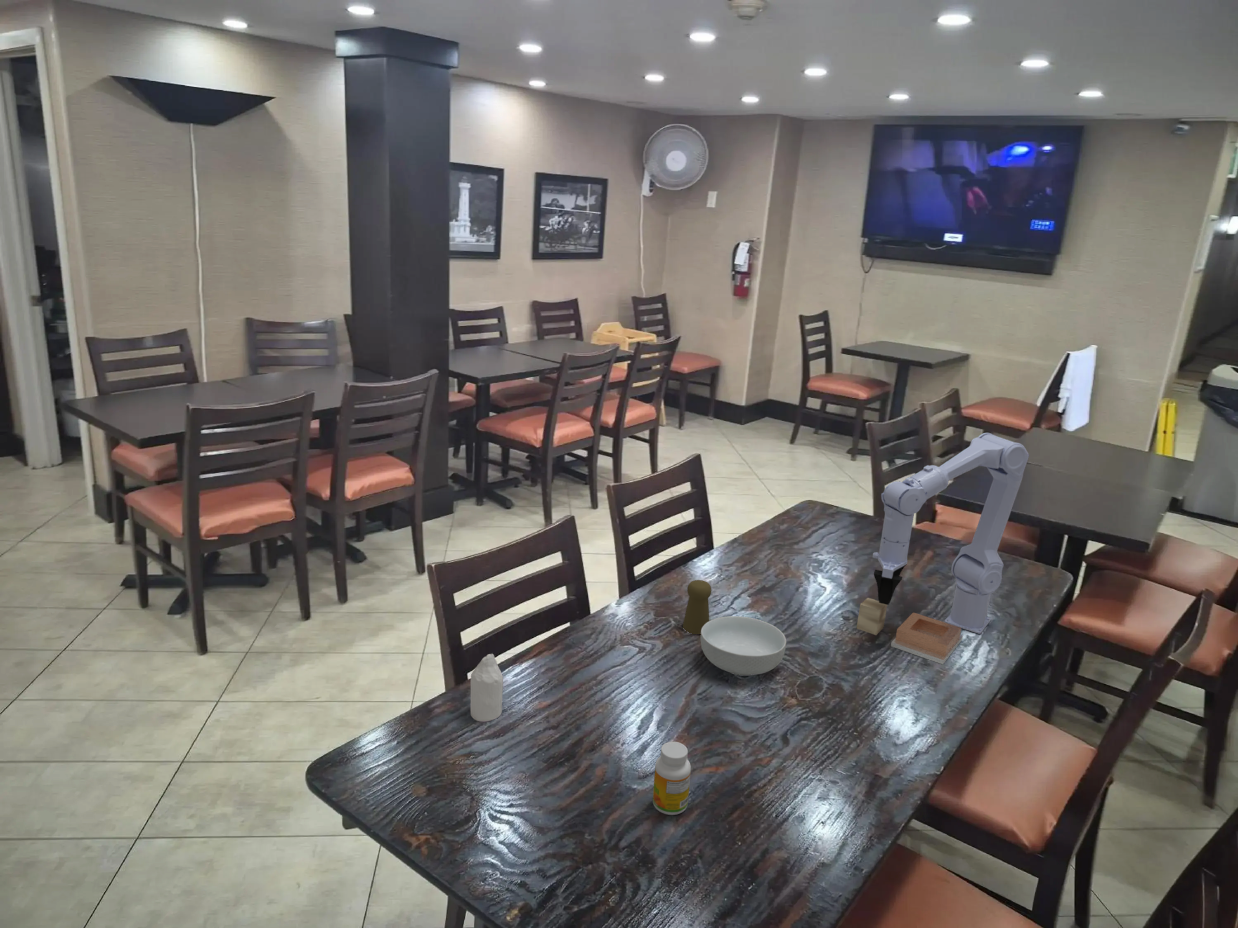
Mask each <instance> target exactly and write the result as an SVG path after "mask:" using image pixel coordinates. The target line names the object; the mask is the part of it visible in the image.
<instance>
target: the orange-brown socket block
mask: <svg viewBox="0 0 1238 928" xmlns="http://www.w3.org/2000/svg"><path fill="white" fill-rule="evenodd" d="M961 632H962V628H960V627H957V626H954V625H951V624H948V623H945V622H944V621H941V620H939V619H935V618H932V617H929V616H925V615H922V614H919V613H916V612H912V613H911V614H910V615H909V616H908V617H907V618H906V619H905V620H904V621H903V622H902V623H901V625H899V626H898V627H897V629H896V634H895V638H894V639H893V640H892V641H891V642H890V643H891V644H890V647H892V648H895V649H898V650H901V651H904V652H906V653H909V654H912V655H915V656H918V657H921V658H923V659H926V660H930V661H932V662H935V663H937V664H941V665H945V663H946V662H947V660H948V659H949V657H950V656H951V655H952V653H953V652H954V651H955V649H957V648H958V646H959V644H961V642H962V640H963V638H964V637H963V636H964V635H962V634H961Z"/></svg>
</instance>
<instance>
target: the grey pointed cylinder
mask: <svg viewBox="0 0 1238 928" xmlns="http://www.w3.org/2000/svg"><path fill="white" fill-rule="evenodd" d="M503 689H504V676H503V674H502V671H501V669H500V666H498V662H497V659H496V658H495V655H494V654H493V653H489V654H487V655H486V656H484V657H483V658H482V659H481V661H480V662H479V663H478V664H477V666H475V668H474V669H473V670H472V672H471V675H470V716H471V718H473V719H474V721H477V722H481V723H483V722H491V721H493V720H495V719H497V718H499V717H500V716H501V715H502V712H503V691H504V690H503Z"/></svg>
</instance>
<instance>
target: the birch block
mask: <svg viewBox="0 0 1238 928" xmlns="http://www.w3.org/2000/svg"><path fill="white" fill-rule="evenodd" d="M887 607H888V605H887V604H882V603H879V600H877V599H874V598H871V597H867V598H866V599H864V600H863V601H862V602H860V605H859V610H858V617H857V623H856V630H859V631H863V632H866V633H869V634H871V635H874V636H877V635H878V634H879V633H880V632H881V631H882V630H883V629H884V628H885V621H886V615H887V610H888V609H887Z"/></svg>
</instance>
